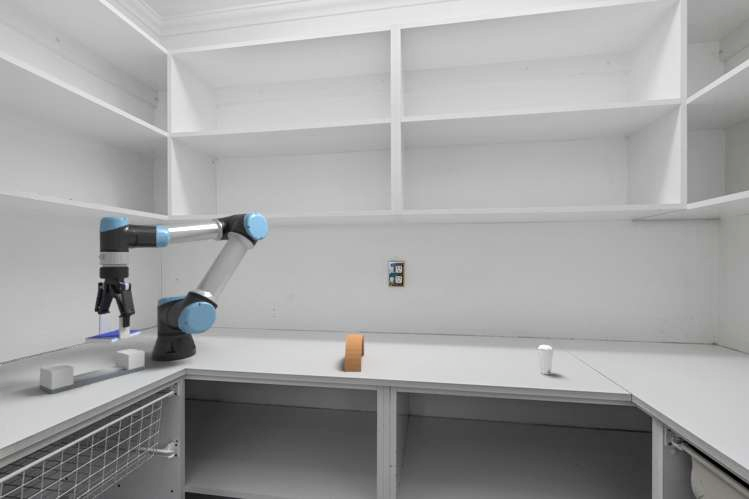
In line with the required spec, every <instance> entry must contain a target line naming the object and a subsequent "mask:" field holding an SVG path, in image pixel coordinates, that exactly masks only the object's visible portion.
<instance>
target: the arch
mask: <svg viewBox="0 0 749 499" xmlns="http://www.w3.org/2000/svg"><path fill="white" fill-rule="evenodd" d="M363 356H365V336H364V334H347V336H346V341H345V349H344V372H362V357H363Z"/></svg>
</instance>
